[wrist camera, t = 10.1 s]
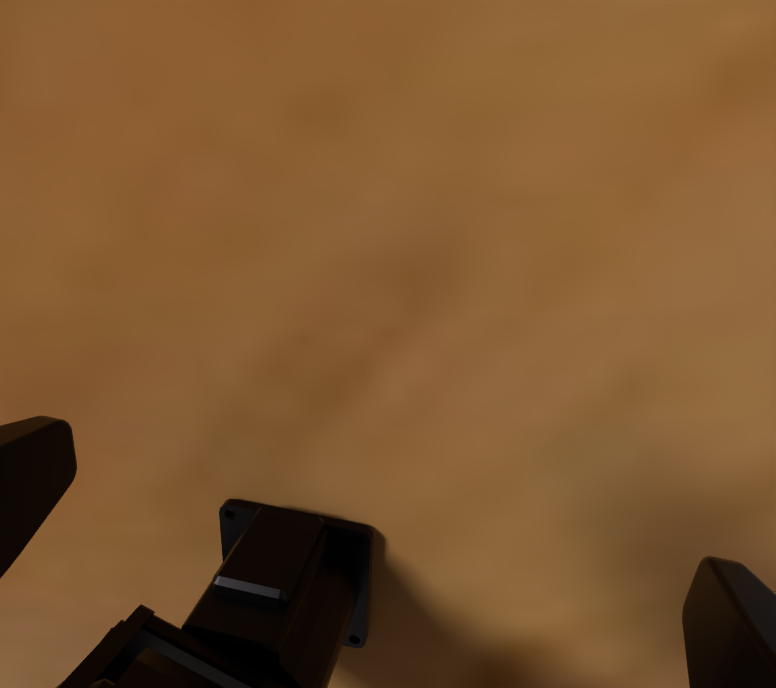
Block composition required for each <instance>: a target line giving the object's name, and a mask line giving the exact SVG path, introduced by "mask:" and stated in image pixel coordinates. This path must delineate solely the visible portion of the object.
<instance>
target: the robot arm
mask: <svg viewBox="0 0 776 688" xmlns="http://www.w3.org/2000/svg"><path fill="white" fill-rule="evenodd" d="M76 471H77V462H76V455H75V448H74V441H73V434H72V429H71V426H70V425H69V423H68V422H66V421H65V420H62V419H57V418H53V417H48V416H36V417H32V418H28V419H25V420H21V421H17V422H13V423H9V424H5V425H2V426H0V578H1V577H2V576H3V575H4V573H5V572H6V571H7V570H8V569H9V568H10V566H11V565H12V564H13V562H14V561H15V560H16V558H17V557H18V556H19V555H20V553H21V552H22V551H23V549H24V548H25V546H26V545H27V544H28V542H29V541H30V540H31V538H32V537H33V536H34V534H35V533H36V531H37V530H38V529H39V527H40V526H41V525H42V523H43V522H44V520H45V519H46V518H47V516H48V515H49V514H50V512H51V511H52V510H53V508H54V507H55V505H56V504H57V503H58V501H59V500H60V499H61V497H62V496H63V495H64V493H65V492H66V490H67V489H68V488H69V486H70V485H71V483H72V482H73V480H74V478H75V475H76ZM230 510H232V511H233V512H234V513H232V512H231V511H230ZM219 517H220V530H221V543H222V555H223V563H222V565H221V566H220V568H219V569H218V571H217V572H216V574H215V575H214V577H213V580H212V581H211V583H210V584H209V586H208V587H207V589H206V590H205V592H204V593H203V595H202V597H201V598H200V600H199V601H198V603H197V604H196V606H195V607H194V609H193V610H192V612H191V613H190V615H189V616H188V618H187V619H186V621H185V622H184V624H183V625H182V628H181V629H180V628H178V627H176V626H174V625H172V624H171V623H169V622H167V621H165V620H163V619H161V618H159V617H157V616H156V615H154V613H155V612H154V611H153V610H151V609H149V608H147V607H145V606H143V605H140V606H139V607H138V608H137V609H136V610H135V611H134V612H133V613H132V614H131V615H130V616H129V617H128V619H127V620H126V621H123V620H121V621H120V622H119V623H118V624H117V625H116V626H115V627H114V628H111V629H110V630H109V632H108V633H107V634H106V635H105V637H104V638H103V639H102V641H101V642H100V643H99V644H98V645H97V646H96V647H95V649H94V650H93V651H92V652H91V653H90V654H89V655H88V656H87V657H86V658H85V659H84V660H83V661H82V662H81V663H80V665H79V666H78V667H77V668H76V669H75V670H74V671H73V672H72V673H71V674H70V675H69V676H68V677H67V678H66V680H65V681H63V682H62V683H61V684H60V685H58V686H57V687H56V688H327V687H328V684H329V681H330V678H331V675H332V673H333V670H334V667H335V664H336V661H337V658H338V655H339V653H340V650H341V647H342V645H344V646H349V647H353V648H361V647H363V646H364V645H365V643H366V640H367V636H368V625H369V606H370V587H371V568H372V550H373V533H372V531H371V530H370V529H369V528H368V527H367V526H364V525H362V524H357V523H352V522H347V521H342V520H337V519H332V518H327V517H322V516H317V515H312V514H307V513H302V512H297V511H292V510H286V509H281V508H276V507H271V506H266V505H261V504H256V503H251V502H246V501H241V500H236V499H228V500H226V501H225V503H224V504H223V505H222V507H221V508H220V510H219ZM356 536H360V537H362V538H363V539H359V538H357V537H356ZM682 623H683V632H684V641H685V650H686V659H687V668H688V676H689V685H690V688H776V594H775V593H774V592H772V591H771V590H770V589H769V588H768V587H767V586H766V585H765V584H764V583H763V582H762V581H760V580H759V579H758V578H757V577H756V576H755V575H754V574H753V573H752V572H751V571H749V570H748V569H747V568H746V567H745V566H744V565H742V564H741V563H739V562H736V561H732V560H727V559H722V558H717V557H713V556H707V557H705V558H703V559H702V561H701V562H700V564H699V566H698V568H697V571H696V573H695V576H694V579H693V581H692V584H691V587H690V589H689V592H688V594H687V597H686V600H685V603H684V606H683V614H682Z"/></svg>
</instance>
